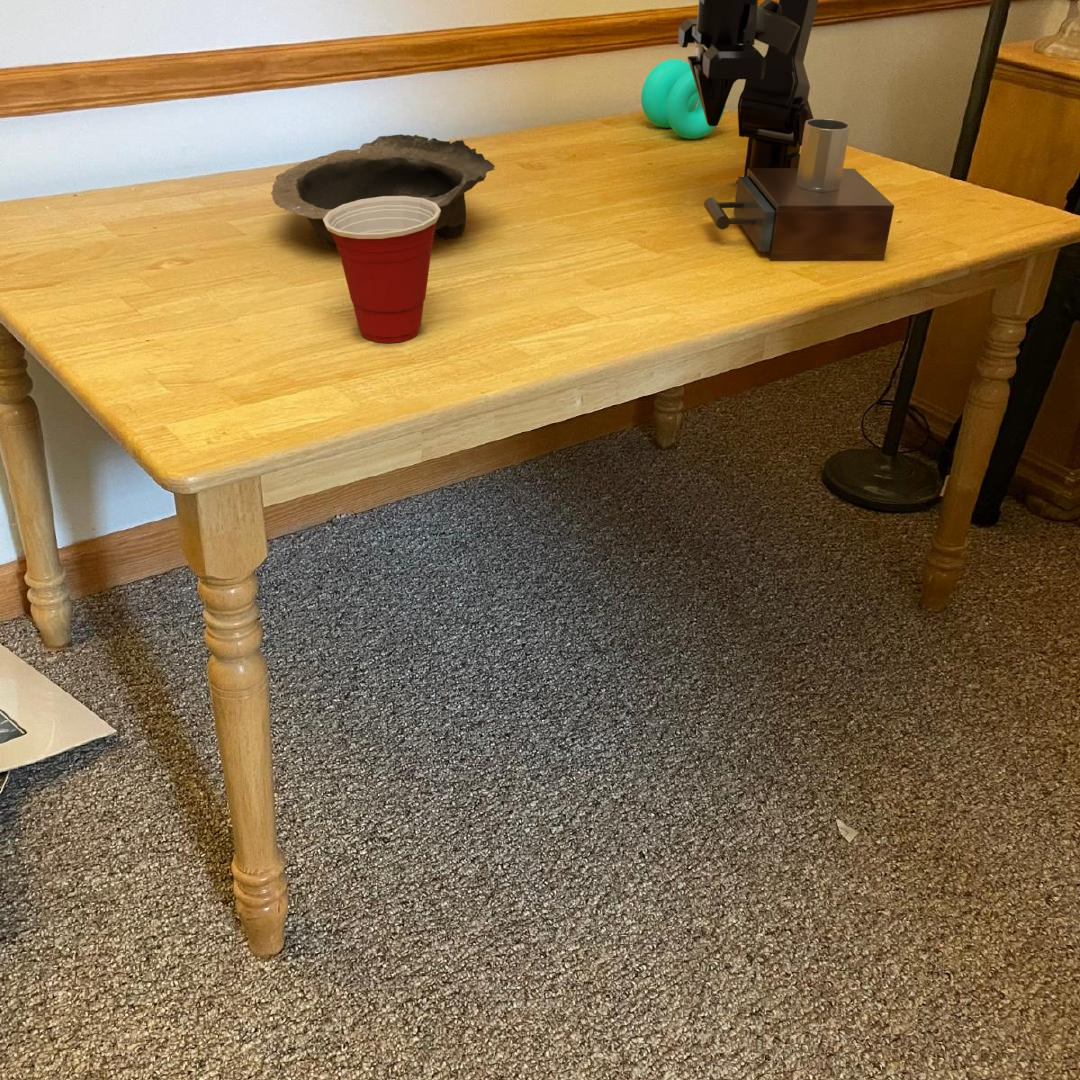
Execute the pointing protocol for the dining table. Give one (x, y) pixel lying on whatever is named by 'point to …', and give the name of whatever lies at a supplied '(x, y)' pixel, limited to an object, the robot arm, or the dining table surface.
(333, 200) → the stone bowl
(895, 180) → the dining table surface
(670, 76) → the teal yo-yo
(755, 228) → the drawer
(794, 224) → the cabinet
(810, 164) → the cup
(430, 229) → the plastic cup
